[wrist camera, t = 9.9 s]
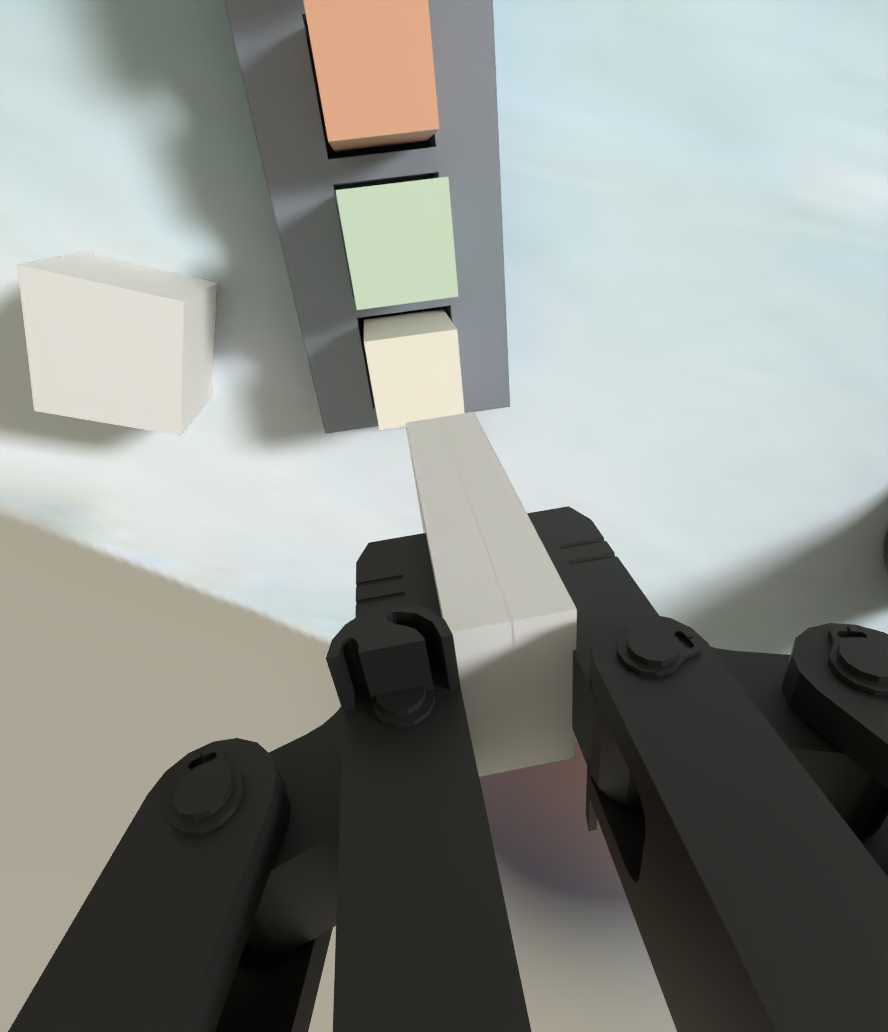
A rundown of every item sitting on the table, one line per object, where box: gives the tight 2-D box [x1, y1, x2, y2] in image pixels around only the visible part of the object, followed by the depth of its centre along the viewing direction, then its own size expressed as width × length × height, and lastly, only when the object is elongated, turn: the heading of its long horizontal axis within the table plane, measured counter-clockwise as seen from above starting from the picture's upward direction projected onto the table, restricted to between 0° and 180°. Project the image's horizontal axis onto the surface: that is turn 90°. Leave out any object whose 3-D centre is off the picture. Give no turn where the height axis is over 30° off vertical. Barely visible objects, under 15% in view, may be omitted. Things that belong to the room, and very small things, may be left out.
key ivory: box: [364, 309, 465, 430], centre depth 26 cm, size 4×4×5 cm
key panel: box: [225, 0, 510, 433], centre depth 24 cm, size 23×10×3 cm, turn 6°
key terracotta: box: [303, 0, 439, 152], centre depth 20 cm, size 4×4×5 cm
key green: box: [335, 177, 459, 310], centre depth 22 cm, size 4×4×5 cm
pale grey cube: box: [17, 252, 217, 436], centre depth 25 cm, size 6×6×6 cm
